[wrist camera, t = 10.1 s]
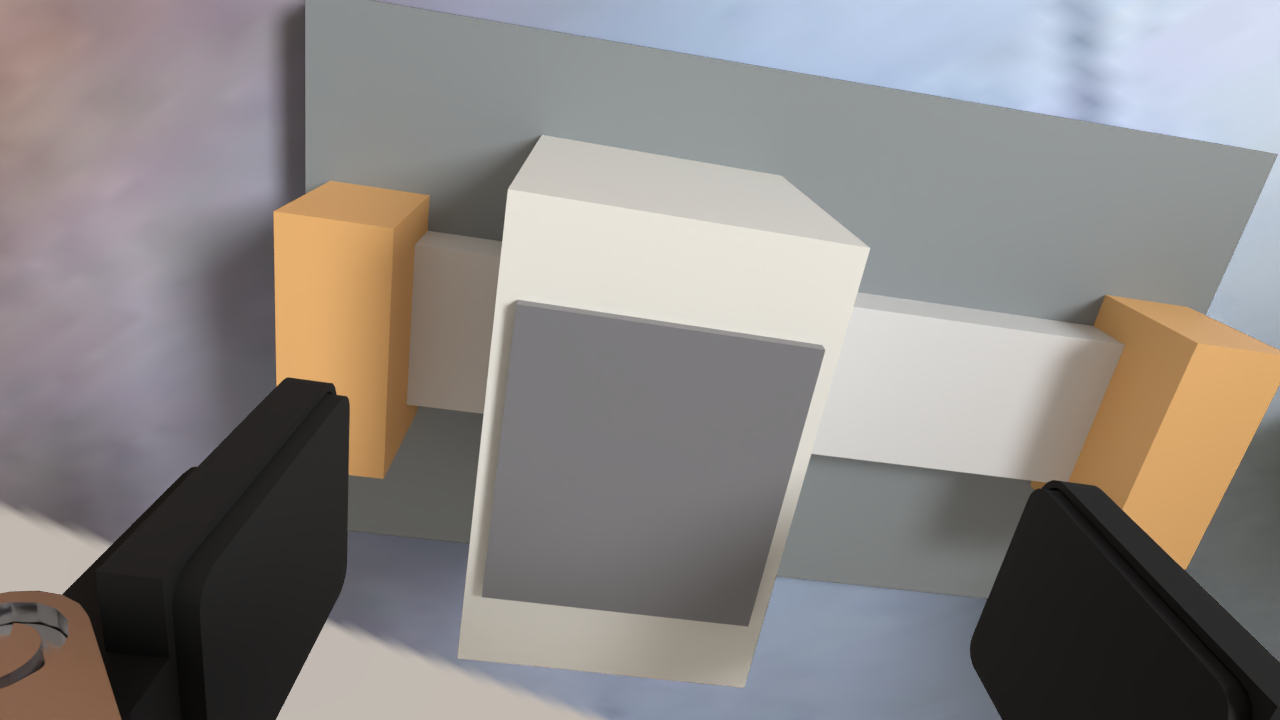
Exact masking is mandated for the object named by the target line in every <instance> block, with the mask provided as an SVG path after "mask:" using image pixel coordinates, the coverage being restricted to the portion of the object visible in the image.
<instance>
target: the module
mask: <svg viewBox="0 0 1280 720" xmlns="http://www.w3.org/2000/svg"><path fill="white" fill-rule="evenodd" d="M869 251H870V247H868V246H867V245H866V244H865V243H863V242H862V241H861V240H860V239H859V238H857V237H856V236H855V235H854V234H852V233H851V232H850V231H849V230H848V229H846V228H845V227H844V226H843V225H841V224H840V223H839V222H838V221H836V220H835V219H834V218H833V217H832V216H830V215H829V214H828V213H827V212H825V211H824V210H823V209H822V208H821V207H819V206H818V205H817V204H816V203H814V202H813V201H812V200H811V199H810V198H808V197H807V196H806V195H805V194H803V193H802V192H801V191H800V190H798V189H797V188H796V187H795V186H794V185H792V184H791V183H790V182H789V181H787V180H786V179H785V178H784V177H783V176H781V175H775V174H769V173H763V172H757V171H751V170H746V169H740V168H734V167H728V166H722V165H716V164H710V163H705V162H699V161H693V160H687V159H681V158H675V157H669V156H664V155H658V154H652V153H646V152H640V151H634V150H628V149H622V148H617V147H611V146H605V145H599V144H593V143H587V142H581V141H576V140H570V139H564V138H558V137H552V136H546V135H542V136H541V137H540V139H539V140H538V142H537V143H536V145H535V147H534V148H533V150H532V151H531V153H530V155H529V156H528V158H527V159H526V161H525V163H524V164H523V166H522V167H521V169H520V171H519V172H518V174H517V175H516V177H515V179H514V180H513V182H512V183H511V185H510V187H509V188H508V193H507V202H506V211H505V221H504V230H503V239H502V248H501V258H500V267H499V276H498V285H497V295H496V304H495V313H494V323H493V332H492V341H491V350H490V360H489V369H488V378H487V387H486V397H485V406H484V415H483V424H482V434H481V443H480V452H479V462H478V471H477V480H476V489H475V499H474V508H473V517H472V526H471V536H470V545H469V554H468V564H467V573H466V582H465V591H464V601H463V610H462V619H461V628H460V638H459V647H458V656H457V658H458V659H467V660H477V661H487V662H497V663H506V664H516V665H526V666H536V667H545V668H555V669H565V670H575V671H584V672H594V673H604V674H614V675H623V676H633V677H643V678H653V679H662V680H672V681H682V682H692V683H701V684H711V685H721V686H731V687H740V688H744V687H745V683H746V680H747V676H748V673H749V669H750V666H751V662H752V659H753V655H754V652H755V648H756V645H757V641H758V638H759V635H760V631H761V628H762V624H763V621H764V617H765V614H766V610H767V607H768V603H769V600H770V596H771V593H772V589H773V586H774V582H775V579H776V575H777V572H778V568H779V565H780V561H781V558H782V554H783V551H784V547H785V544H786V540H787V537H788V533H789V530H790V526H791V523H792V520H793V516H794V513H795V509H796V506H797V502H798V499H799V495H800V492H801V488H802V485H803V481H804V478H805V474H806V471H807V467H808V464H809V460H810V457H811V453H812V450H813V446H814V443H815V439H816V436H817V432H818V429H819V425H820V422H821V418H822V415H823V411H824V408H825V405H826V401H827V398H828V394H829V391H830V387H831V384H832V380H833V377H834V373H835V370H836V366H837V363H838V359H839V356H840V352H841V349H842V345H843V342H844V338H845V335H846V331H847V328H848V324H849V321H850V317H851V314H852V310H853V307H854V303H855V300H856V296H857V293H858V289H859V286H860V283H861V279H862V276H863V272H864V269H865V265H866V262H867V258H868V255H869Z"/></svg>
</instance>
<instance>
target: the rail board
mask: <svg viewBox="0 0 1280 720" xmlns="http://www.w3.org/2000/svg"><path fill="white" fill-rule="evenodd" d="M542 135H546V136H552V137H558V138H564V139H570V140H576V141H581V142H587V143H593V144H599V145H605V146H611V147H617V148H622V149H628V150H634V151H640V152H646V153H652V154H658V155H664V156H669V157H675V158H681V159H687V160H693V161H699V162H705V163H710V164H716V165H722V166H728V167H734V168H740V169H746V170H751V171H757V172H763V173H769V174H775V175H781V176H783V177H784V178H785V179H786V180H787V181H789V182H790V183H791V184H792V185H794V186H795V187H796V188H797V189H798V190H800V191H801V192H802V193H803V194H805V195H806V196H807V197H808V198H810V199H811V200H812V201H813V202H814V203H816V204H817V205H818V206H819V207H821V208H822V209H823V210H824V211H825V212H827V213H828V214H829V215H830V216H832V217H833V218H834V219H835V220H836V221H838V222H839V223H840V224H841V225H843V226H844V227H845V228H846V229H848V230H849V231H850V232H851V233H852V234H854V235H855V236H856V237H857V238H859V239H860V240H861V241H862V242H863V243H865V244H866V245H867V246H868V247H870V251H869V255H868V258H867V262H866V265H865V269H864V272H863V276H862V279H861V283H860V286H859V289H858V293H857V296H856V300H855V303H854V307H853V310H852V314H851V317H850V321H849V324H848V328H847V331H846V335H845V338H844V342H843V345H842V349H841V352H840V356H839V359H838V363H837V366H836V370H835V373H834V377H833V380H832V384H831V387H830V391H829V394H828V398H827V401H826V405H825V408H824V411H823V415H822V418H821V422H820V425H819V429H818V432H817V436H816V439H815V443H814V446H813V450H812V453H811V457H810V460H809V464H808V467H807V471H806V474H805V478H804V481H803V485H802V488H801V492H800V495H799V499H798V502H797V506H796V509H795V513H794V516H793V520H792V523H791V526H790V530H789V533H788V537H787V540H786V544H785V547H784V551H783V554H782V558H781V561H780V565H779V568H778V572H777V575H776V576H778V577H787V578H797V579H806V580H815V581H825V582H834V583H844V584H853V585H863V586H872V587H881V588H891V589H900V590H910V591H919V592H928V593H938V594H947V595H957V596H966V597H976V598H985V599H988V597H989V594H990V592H991V589H992V587H993V585H994V582H995V580H996V577H997V575H998V572H999V570H1000V567H1001V565H1002V562H1003V560H1004V557H1005V555H1006V552H1007V550H1008V547H1009V545H1010V542H1011V540H1012V538H1013V535H1014V533H1015V530H1016V528H1017V525H1018V523H1019V520H1020V518H1021V515H1022V513H1023V510H1024V508H1025V505H1026V503H1027V500H1028V498H1029V496H1030V495H1031V493H1032V492H1033V491H1034V490H1036V489H1039V488H1040V489H1042V487H1043V486H1044V485H1045V484H1046V483H1047V482H1049V481H1052V480H1057V481H1064V482H1072V483H1079V484H1087V485H1094V486H1097V487H1098V488H1100V489H1101V490H1102V491H1103V492H1104V493H1105V494H1106V495H1107V496H1109V497H1110V498H1111V499H1112V500H1113V501H1114V502H1115V503H1116V504H1117V505H1118V506H1119V507H1120V508H1121V509H1122V510H1123V511H1124V512H1125V513H1126V514H1127V515H1128V516H1129V517H1130V518H1131V519H1132V520H1133V521H1134V522H1135V523H1136V524H1137V525H1138V526H1139V527H1140V528H1141V529H1143V530H1144V531H1145V532H1146V533H1147V534H1148V535H1149V536H1150V537H1151V538H1152V539H1153V540H1154V541H1155V542H1156V543H1157V544H1158V545H1159V546H1160V547H1161V548H1162V549H1163V550H1164V551H1165V552H1166V553H1167V554H1168V555H1169V556H1170V557H1171V558H1172V559H1173V560H1174V561H1175V562H1176V563H1178V564H1179V565H1180V566H1181V567H1182V568H1183V569H1187V567H1188V565H1189V563H1190V561H1191V559H1192V557H1193V555H1194V553H1195V551H1196V549H1197V547H1198V545H1199V543H1200V541H1201V539H1202V537H1203V535H1204V533H1205V531H1206V529H1207V527H1208V525H1209V523H1210V521H1211V519H1212V517H1213V515H1214V513H1215V511H1216V509H1217V507H1218V505H1219V503H1220V502H1221V500H1222V498H1223V496H1224V494H1225V492H1226V490H1227V488H1228V486H1229V484H1230V482H1231V480H1232V478H1233V476H1234V474H1235V472H1236V470H1237V468H1238V466H1239V464H1240V462H1241V460H1242V458H1243V456H1244V454H1245V452H1246V450H1247V448H1248V446H1249V444H1250V442H1251V440H1252V438H1253V436H1254V434H1255V432H1256V430H1257V428H1258V426H1259V424H1260V422H1261V420H1262V418H1263V416H1264V414H1265V412H1266V411H1267V409H1268V407H1269V405H1270V403H1271V401H1272V399H1273V397H1274V395H1275V393H1276V391H1277V389H1278V387H1279V385H1280V350H1278V349H1276V348H1274V347H1272V346H1269V345H1267V344H1265V343H1263V342H1261V341H1259V340H1257V339H1255V338H1252V337H1250V336H1248V335H1246V334H1244V333H1242V332H1240V331H1238V330H1236V329H1233V328H1231V327H1229V326H1227V325H1225V324H1223V323H1221V322H1219V321H1216V320H1214V319H1212V318H1210V317H1208V316H1206V313H1207V311H1208V308H1209V306H1210V304H1211V302H1212V300H1213V297H1214V295H1215V293H1216V291H1217V288H1218V286H1219V284H1220V282H1221V280H1222V277H1223V275H1224V273H1225V271H1226V268H1227V266H1228V264H1229V262H1230V260H1231V257H1232V255H1233V253H1234V251H1235V248H1236V246H1237V244H1238V242H1239V240H1240V237H1241V235H1242V233H1243V231H1244V229H1245V226H1246V224H1247V222H1248V220H1249V217H1250V215H1251V213H1252V211H1253V209H1254V206H1255V204H1256V202H1257V200H1258V197H1259V195H1260V193H1261V191H1262V189H1263V186H1264V184H1265V182H1266V180H1267V177H1268V175H1269V173H1270V171H1271V169H1272V166H1273V164H1274V162H1275V160H1276V157H1277V155H1278V154H1273V153H1268V152H1262V151H1257V150H1251V149H1246V148H1240V147H1234V146H1228V145H1222V144H1216V143H1210V142H1204V141H1199V140H1193V139H1187V138H1181V137H1175V136H1169V135H1163V134H1157V133H1151V132H1145V131H1140V130H1134V129H1128V128H1122V127H1116V126H1110V125H1104V124H1098V123H1092V122H1086V121H1081V120H1075V119H1069V118H1063V117H1057V116H1051V115H1045V114H1039V113H1033V112H1027V111H1021V110H1016V109H1010V108H1004V107H998V106H992V105H986V104H980V103H974V102H968V101H962V100H957V99H951V98H945V97H939V96H933V95H927V94H921V93H915V92H909V91H903V90H898V89H892V88H886V87H880V86H874V85H868V84H862V83H856V82H850V81H844V80H839V79H833V78H827V77H821V76H815V75H809V74H803V73H797V72H791V71H785V70H780V69H774V68H768V67H762V66H756V65H750V64H744V63H738V62H732V61H726V60H721V59H715V58H709V57H703V56H697V55H691V54H685V53H679V52H673V51H667V50H661V49H656V48H650V47H644V46H638V45H632V44H626V43H620V42H614V41H608V40H602V39H597V38H591V37H585V36H579V35H573V34H567V33H561V32H555V31H549V30H543V29H538V28H532V27H526V26H520V25H514V24H508V23H502V22H496V21H490V20H484V19H479V18H473V17H467V16H461V15H455V14H449V13H443V12H437V11H431V10H425V9H420V8H414V7H408V6H402V5H396V4H390V3H384V2H378V1H372V0H305V195H303V196H301V197H299V198H297V199H295V200H294V201H292V202H290V203H288V204H286V205H284V206H282V207H281V208H279V209H277V210H275V211H274V270H275V330H276V387H277V386H278V385H279V384H280V383H281V382H282V381H283V380H284V379H285V378H287V377H289V378H297V379H304V380H312V381H319V382H327V383H333V385H334V386H335V389H336V393H337V395H342V396H347V397H348V399H349V403H350V425H349V477H348V529H347V531H354V532H363V533H373V534H382V535H392V536H401V537H410V538H420V539H429V540H439V541H448V542H457V543H467V544H470V536H471V526H472V517H473V508H474V499H475V489H476V480H477V471H478V462H479V452H480V443H481V434H482V424H483V415H484V406H485V397H486V387H487V378H488V369H489V360H490V350H491V341H492V332H493V323H494V313H495V304H496V295H497V285H498V276H499V267H500V258H501V248H502V239H503V230H504V221H505V211H506V202H507V193H508V188H509V187H510V185H511V183H512V182H513V180H514V179H515V177H516V175H517V174H518V172H519V171H520V169H521V167H522V166H523V164H524V163H525V161H526V159H527V158H528V156H529V155H530V153H531V151H532V150H533V148H534V147H535V145H536V143H537V142H538V140H539V139H540V137H541V136H542Z"/></svg>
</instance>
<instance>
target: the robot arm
mask: <svg viewBox="0 0 1280 720" xmlns="http://www.w3.org/2000/svg"><path fill="white" fill-rule="evenodd" d="M349 425H350V403H349V399H348V397H347V396H342V395H337V393H336V389H335V386H334V385H333V383H327V382H319V381H312V380H304V379H297V378H289V377H287V378H285V379H284V380H283V381H282V382H281V383H280V384H279V385H278V386H277V387H276V388H275V389H274V390H273V391H272V392H271V393H270V394H269V395H268V396H267V397H266V398H265V399H264V400H263V401H262V402H261V403H260V404H259V405H258V406H257V407H256V408H255V409H254V410H253V411H252V412H251V413H250V414H249V415H248V416H247V417H246V418H245V419H244V420H243V421H242V422H241V423H240V424H239V425H238V426H237V427H236V428H235V429H234V430H233V432H232V433H231V434H230V435H229V436H228V437H227V438H226V439H225V440H224V441H223V442H222V443H221V444H220V445H219V446H218V447H217V448H216V449H215V450H214V451H213V452H212V453H211V454H210V455H209V456H208V457H207V458H206V459H205V460H204V461H203V462H202V463H201V464H200V465H199V466H198V467H192V468H190V469H189V470H188V471H186V472H185V473H183V474H182V475H181V476H180V477H179V478H178V479H177V480H176V481H175V482H174V483H173V484H172V485H171V486H170V487H169V488H168V489H167V490H166V491H165V492H164V493H163V494H162V495H161V496H160V497H159V498H158V499H157V500H156V501H155V502H154V503H153V504H152V505H151V506H150V507H149V508H148V509H147V510H146V511H145V512H144V513H143V514H142V515H141V516H140V517H139V518H138V519H137V520H136V521H135V522H134V523H133V524H132V525H131V526H130V527H129V528H128V529H127V530H126V531H125V532H124V533H123V534H122V535H121V536H120V537H119V538H118V539H117V540H116V541H115V542H114V543H113V544H112V545H111V546H110V547H109V548H108V549H107V550H106V551H105V552H104V553H103V554H102V555H101V556H100V557H99V558H98V560H96V561H95V562H94V563H93V564H92V565H91V567H89V568H88V569H87V570H86V571H85V572H84V573H83V574H82V575H81V576H80V577H79V578H78V579H77V580H76V582H74V583H73V584H72V585H71V586H70V588H68V589H67V590H66V591H65V592H64V593H63V594H62V595H60V594H54V593H48V592H42V591H20V592H19V591H18V592H6V593H1V594H0V720H276V718H277V716H278V714H279V712H280V710H281V708H282V706H283V704H284V702H285V700H286V698H287V696H288V694H289V692H290V691H291V689H292V687H293V685H294V683H295V680H296V679H297V677H298V675H299V673H300V671H301V669H302V667H303V665H304V663H305V661H306V659H307V657H308V655H309V653H310V651H311V649H312V647H313V645H314V643H315V641H316V640H317V637H318V636H319V633H320V632H321V630H322V628H323V626H324V624H325V622H326V620H327V618H328V616H329V614H330V612H331V610H332V608H333V606H334V604H335V602H336V600H337V598H338V596H339V594H340V592H341V590H342V586H343V583H344V579H345V575H346V568H347V529H348V477H349ZM970 655H971V660H972V664H973V666H974V669H975V670H976V672H977V674H978V676H979V678H980V680H981V681H982V683H983V685H984V687H985V689H986V691H987V692H988V694H989V696H990V698H991V700H992V702H993V704H994V705H995V707H996V709H997V711H998V713H999V715H1000V716H1001V718H1002V720H1280V663H1279V662H1278V661H1277V660H1276V659H1275V658H1274V657H1273V656H1272V655H1271V654H1270V653H1269V652H1268V651H1267V650H1266V649H1265V648H1264V647H1263V646H1262V645H1261V644H1260V643H1259V642H1258V641H1257V640H1256V639H1255V638H1254V637H1253V636H1252V635H1251V634H1250V633H1249V632H1248V631H1246V630H1245V629H1244V628H1243V627H1242V626H1241V625H1240V624H1239V623H1238V622H1237V621H1236V620H1235V619H1234V618H1233V617H1232V616H1231V615H1230V614H1229V613H1228V612H1227V611H1226V610H1225V609H1224V608H1223V607H1222V606H1221V605H1220V604H1219V603H1218V602H1217V601H1216V600H1215V599H1214V598H1213V597H1211V596H1210V595H1209V594H1208V593H1207V592H1206V591H1205V590H1204V589H1203V588H1202V587H1201V586H1200V585H1199V584H1198V583H1197V582H1196V581H1195V580H1194V579H1193V578H1192V577H1191V576H1190V575H1189V574H1188V573H1187V572H1186V571H1185V570H1184V569H1183V568H1182V567H1181V566H1180V565H1179V564H1178V563H1176V562H1175V561H1174V560H1173V559H1172V558H1171V557H1170V556H1169V555H1168V554H1167V553H1166V552H1165V551H1164V550H1163V549H1162V548H1161V547H1160V546H1159V545H1158V544H1157V543H1156V542H1155V541H1154V540H1153V539H1152V538H1151V537H1150V536H1149V535H1148V534H1147V533H1146V532H1145V531H1144V530H1143V529H1141V528H1140V527H1139V526H1138V525H1137V524H1136V523H1135V522H1134V521H1133V520H1132V519H1131V518H1130V517H1129V516H1128V515H1127V514H1126V513H1125V512H1124V511H1123V510H1122V509H1121V508H1120V507H1119V506H1118V505H1117V504H1116V503H1115V502H1114V501H1113V500H1112V499H1111V498H1110V497H1109V496H1107V495H1106V494H1105V493H1104V492H1103V491H1102V490H1101V489H1100V488H1098V487H1097V486H1094V485H1087V484H1079V483H1072V482H1064V481H1057V480H1052V481H1049V482H1047V483H1046V484H1045V485H1044V486H1043V487H1042V489H1040V488H1039V489H1036V490H1034V491H1033V492H1032V493H1031V495H1030V496H1029V498H1028V500H1027V503H1026V505H1025V508H1024V510H1023V513H1022V515H1021V518H1020V520H1019V523H1018V525H1017V528H1016V530H1015V533H1014V535H1013V538H1012V540H1011V542H1010V545H1009V547H1008V550H1007V552H1006V555H1005V557H1004V560H1003V562H1002V565H1001V567H1000V570H999V572H998V575H997V577H996V580H995V582H994V585H993V587H992V589H991V592H990V594H989V597H988V599H987V602H986V604H985V607H984V609H983V612H982V614H981V617H980V619H979V622H978V624H977V627H976V629H975V632H974V634H973V636H972V640H971V646H970Z"/></svg>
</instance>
